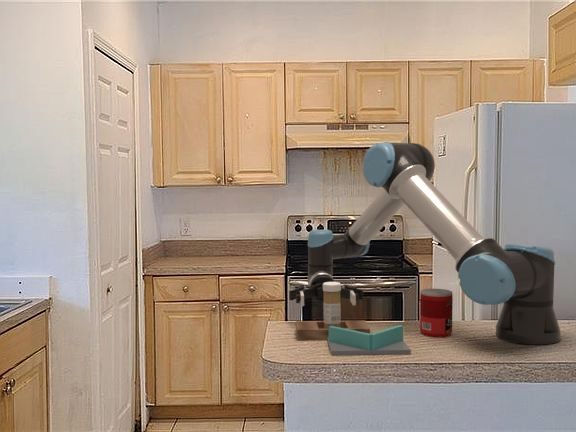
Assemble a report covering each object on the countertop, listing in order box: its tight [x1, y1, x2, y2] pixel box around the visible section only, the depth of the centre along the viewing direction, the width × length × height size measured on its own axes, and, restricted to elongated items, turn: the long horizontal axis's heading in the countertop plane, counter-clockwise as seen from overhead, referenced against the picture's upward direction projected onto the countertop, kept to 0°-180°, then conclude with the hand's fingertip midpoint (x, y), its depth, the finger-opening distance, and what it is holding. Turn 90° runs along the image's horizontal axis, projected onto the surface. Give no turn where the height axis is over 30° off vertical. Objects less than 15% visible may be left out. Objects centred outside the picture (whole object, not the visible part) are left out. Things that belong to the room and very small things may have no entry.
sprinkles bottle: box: [322, 281, 342, 329], centre depth 168 cm, size 5×5×14 cm
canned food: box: [419, 288, 454, 338], centre depth 169 cm, size 8×8×11 cm
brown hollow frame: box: [295, 319, 371, 341], centre depth 168 cm, size 18×9×3 cm, turn 91°
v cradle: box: [326, 324, 412, 356], centre depth 156 cm, size 18×12×4 cm, turn 91°
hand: (328, 300), depth 174 cm, fingers open, 13 cm apart
